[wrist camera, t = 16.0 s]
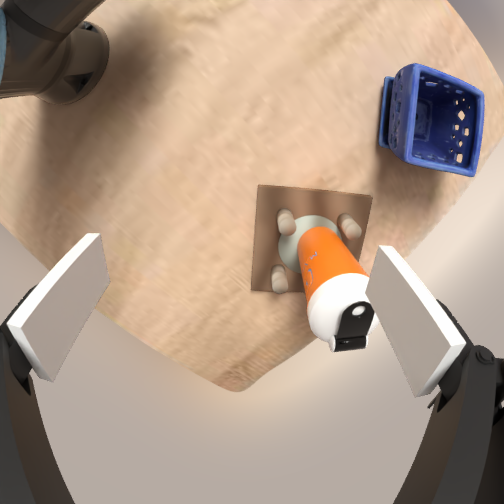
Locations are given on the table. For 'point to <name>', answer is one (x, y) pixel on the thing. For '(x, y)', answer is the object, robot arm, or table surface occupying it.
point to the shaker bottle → (335, 291)
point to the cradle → (301, 230)
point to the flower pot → (432, 119)
